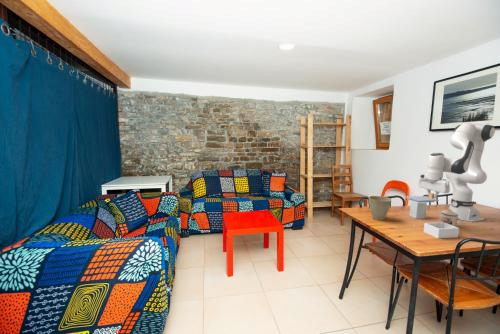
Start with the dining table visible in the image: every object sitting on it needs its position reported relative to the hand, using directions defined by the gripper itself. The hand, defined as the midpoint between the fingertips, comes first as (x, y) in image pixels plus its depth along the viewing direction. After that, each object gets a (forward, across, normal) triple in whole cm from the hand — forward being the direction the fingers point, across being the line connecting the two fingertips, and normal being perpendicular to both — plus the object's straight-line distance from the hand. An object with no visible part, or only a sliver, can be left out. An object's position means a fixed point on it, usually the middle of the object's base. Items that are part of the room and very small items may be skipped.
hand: (432, 196), depth 156 cm
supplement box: (+21, +17, -7) cm, 28 cm away
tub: (+21, -14, +6) cm, 26 cm away
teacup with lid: (+21, -2, -15) cm, 26 cm away
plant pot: (+21, +17, +26) cm, 38 cm away
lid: (+3, 0, +7) cm, 7 cm away
